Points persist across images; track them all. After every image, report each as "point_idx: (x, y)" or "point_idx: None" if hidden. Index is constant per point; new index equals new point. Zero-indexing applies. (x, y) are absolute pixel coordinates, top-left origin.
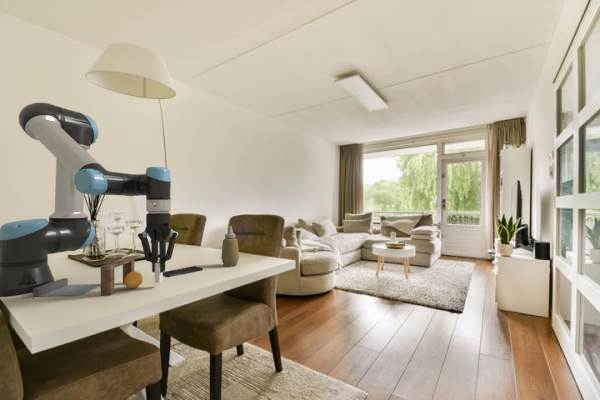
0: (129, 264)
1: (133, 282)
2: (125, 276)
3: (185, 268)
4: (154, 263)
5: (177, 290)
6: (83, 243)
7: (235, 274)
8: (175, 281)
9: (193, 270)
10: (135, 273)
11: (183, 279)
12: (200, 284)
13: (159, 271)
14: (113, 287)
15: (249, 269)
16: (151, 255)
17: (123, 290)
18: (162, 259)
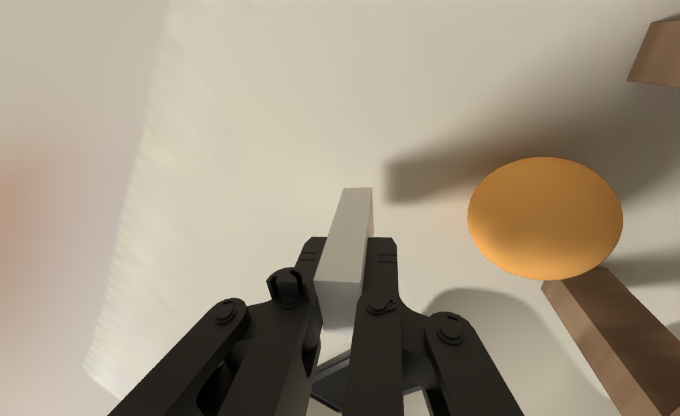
0: (660, 388)
1: (518, 166)
2: (621, 303)
3: None
4: (372, 293)
5: (223, 124)
6: None
7: (143, 315)
8: None
9: (317, 373)
10: (540, 230)
11: None
12: (180, 214)
13: (330, 230)
14: (677, 69)
15: (141, 353)
16: (401, 384)
17: (568, 146)
18: (271, 314)
